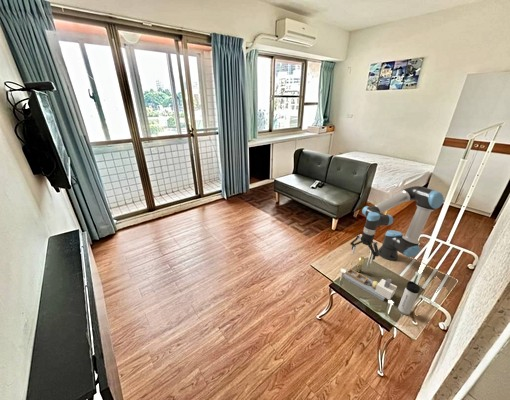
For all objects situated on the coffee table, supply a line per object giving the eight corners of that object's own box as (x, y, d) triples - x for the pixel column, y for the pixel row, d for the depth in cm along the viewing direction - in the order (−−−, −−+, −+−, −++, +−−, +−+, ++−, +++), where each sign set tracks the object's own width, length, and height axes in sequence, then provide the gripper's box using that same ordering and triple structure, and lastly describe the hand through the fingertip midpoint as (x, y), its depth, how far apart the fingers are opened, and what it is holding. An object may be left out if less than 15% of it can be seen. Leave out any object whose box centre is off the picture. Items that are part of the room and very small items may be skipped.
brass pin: (357, 269, 169) (360, 256, 165) (361, 271, 166) (365, 258, 162) (354, 270, 167) (358, 257, 163) (359, 273, 164) (363, 260, 160)
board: (350, 270, 166) (351, 264, 164) (389, 292, 147) (392, 285, 145) (342, 277, 159) (344, 270, 157) (383, 301, 139) (385, 293, 137)
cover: (380, 285, 150) (383, 274, 146) (394, 293, 143) (398, 281, 140) (374, 291, 144) (378, 279, 140) (389, 300, 137) (393, 287, 134)
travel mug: (406, 307, 135) (417, 282, 128) (411, 316, 129) (422, 289, 122) (395, 305, 136) (405, 279, 130) (400, 314, 130) (410, 287, 123)
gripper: (349, 227, 161) (343, 251, 169) (385, 242, 144) (376, 268, 151) (354, 225, 166) (348, 248, 173) (389, 239, 149) (381, 264, 156)
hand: (361, 258), depth 162 cm, fingers open, 13 cm apart
